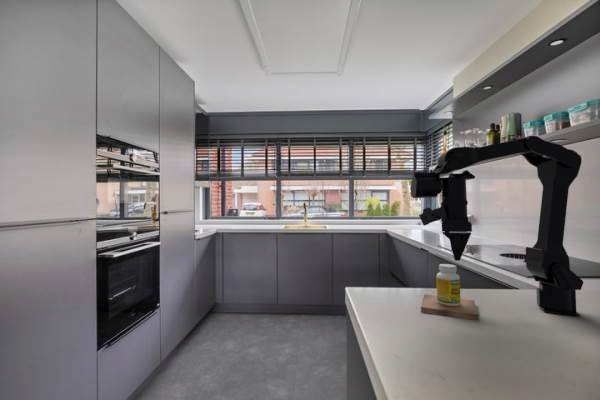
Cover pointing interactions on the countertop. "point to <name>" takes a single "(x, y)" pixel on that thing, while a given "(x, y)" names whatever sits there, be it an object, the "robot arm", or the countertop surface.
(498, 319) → the countertop surface
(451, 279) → the supplement bottle
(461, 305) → the walnut board
